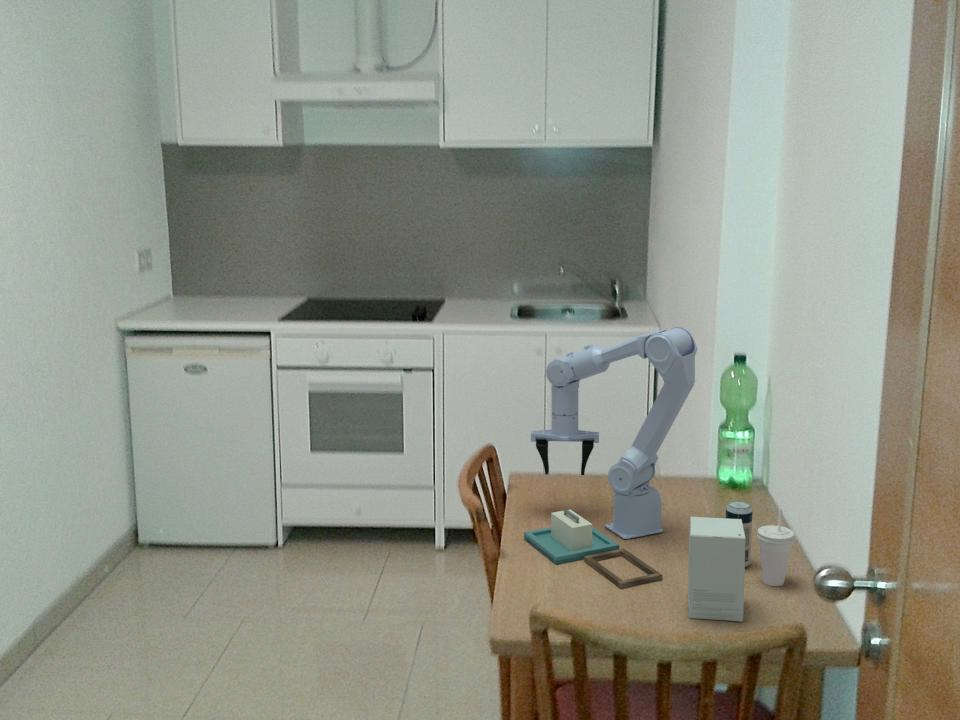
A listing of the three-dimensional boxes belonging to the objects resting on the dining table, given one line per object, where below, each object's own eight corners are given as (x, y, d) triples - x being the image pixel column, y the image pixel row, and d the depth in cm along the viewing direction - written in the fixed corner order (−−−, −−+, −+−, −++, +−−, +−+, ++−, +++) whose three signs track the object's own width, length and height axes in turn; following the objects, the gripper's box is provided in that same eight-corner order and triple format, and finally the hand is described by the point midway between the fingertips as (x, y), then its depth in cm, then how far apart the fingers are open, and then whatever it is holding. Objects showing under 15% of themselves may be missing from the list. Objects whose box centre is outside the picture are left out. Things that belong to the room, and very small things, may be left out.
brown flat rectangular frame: (623, 553, 184) (623, 548, 184) (662, 579, 172) (662, 574, 171) (583, 561, 180) (583, 556, 180) (620, 588, 168) (621, 583, 168)
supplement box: (740, 598, 164) (743, 517, 161) (743, 623, 155) (747, 537, 152) (687, 595, 165) (689, 514, 162) (687, 618, 157) (690, 534, 154)
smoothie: (793, 590, 166) (797, 516, 163) (756, 588, 168) (759, 514, 165) (789, 575, 172) (793, 503, 170) (753, 573, 174) (756, 501, 171)
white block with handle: (570, 532, 192) (570, 504, 191) (592, 548, 184) (592, 518, 183) (551, 536, 191) (551, 507, 190) (572, 552, 183) (572, 522, 181)
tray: (584, 527, 197) (584, 521, 197) (619, 552, 184) (619, 544, 184) (524, 539, 191) (524, 532, 191) (556, 564, 179) (556, 557, 179)
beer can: (750, 560, 179) (753, 501, 177) (749, 570, 175) (751, 510, 172) (725, 557, 181) (727, 498, 178) (722, 567, 176) (725, 507, 174)
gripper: (529, 417, 197) (530, 478, 200) (599, 418, 195) (598, 480, 198) (531, 408, 204) (532, 468, 206) (599, 409, 202) (598, 469, 205)
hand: (564, 473), depth 203 cm, fingers open, 7 cm apart
